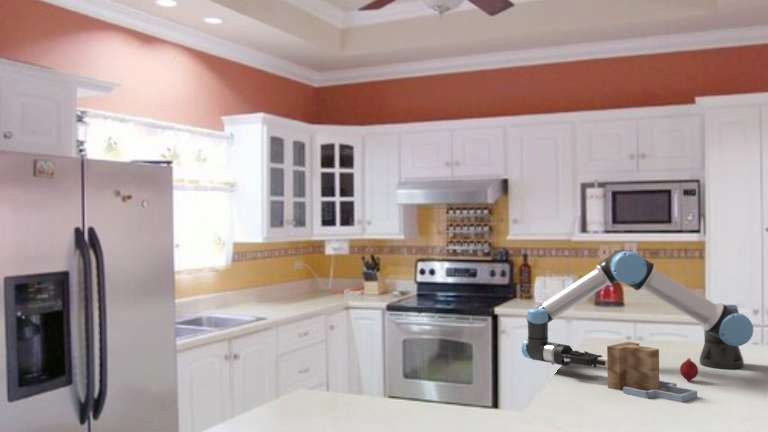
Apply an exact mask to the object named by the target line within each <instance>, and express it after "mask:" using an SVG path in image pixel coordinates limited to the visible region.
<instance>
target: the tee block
mask: <svg viewBox="0 0 768 432" xmlns="http://www.w3.org/2000/svg"><path fill="white" fill-rule="evenodd" d="M606 347H607V350H606V351H607V353H606V356H607V357H606V358H607V366H608V368H607V388H608V389H611V390H612V389H613V390H618V391H621V390H622V391H623V387H629V388H634V389H639V390H643V391H650V390H653V389H655V390H660V387H659V380H660V348H655V347H648V346H640V343H638V342H631V341H625V342H621V343H616V344H611V345H607V346H606Z"/></svg>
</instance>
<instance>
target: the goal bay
mask: <svg viewBox="0 0 768 432" xmlns="http://www.w3.org/2000/svg"><path fill="white" fill-rule="evenodd" d="M659 388H664V389H665V391H664V390H660V389H659V390H655V389H653V390H650V391H643V390H639V389H634V388H629V387H623V389H622V391H623V392H622V394H624V395H625V394H626V395H629V396H635V397H638V396H639V398H643V397H644V398H643V399H647V398H648V399H647V400H649V399H651V398H659V399H664V398H665V399H664V400H668V399H669V401H673V400H674V402H678V401H679V402H678V403H684V402H687V401H690V400H692V399H696V398H698V390H696V389H695V390H694V389H691V388H685V387H680V386H678V385H677V383H676V382H670V381H665V380H661V379H659ZM676 393H677V394H676Z"/></svg>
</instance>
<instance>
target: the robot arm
mask: <svg viewBox="0 0 768 432" xmlns="http://www.w3.org/2000/svg"><path fill="white" fill-rule="evenodd" d="M618 282H620V283H622V284H624V285H627V286H628V287H630V288H631V289H633V290H635V291H636V292H639V291H645V292H646V293H649V294H650V295H652V296H653V297H655V298H657V299H659V300H660V301H663V303H665V304H668V305H669V306H671V307H672V308H674V309H675V310H677V311H680V312H681V313H683V314H685V315H686V316H688V317H689V318H691V319H693V320H695V321H696V322H698V323H699V324H702V328H703V331H704V332H703V333H704V338H703V339H704V344H703V347H702V350H701V352H700V356H699V365H702V366H704V367H708V368H713V369H714V368H716V369H722V370H723V369H724V370H726V369H728V370H729V369H741V368H743V367H744V366H745V365H744V364H745V363H744V362H745V361H744V357H743V355H742V352H741V350H740V347H741V346H743V345H745V344H747V343H748V342H750V340H751V339H752V337H753V334H754V325H753V323H752V321H751V319H750V318H749V317H747V315H745V314H743V313H740V312H739V309H738V308H739V307H738V305H736V304H723V302H719V303H714V302H712V301H711V300H709V299H707V298H705V297H704V296H702V295H700V294H698V293H697V292H694V291H693V290H691V289H689V288H688V287H686V286H685V285H683V284H681V283H679V282H678V281H675V280H674V279H672V278H671V277H669V276H667V275H665V274H663V272H660V271H658V270H657V269H656V266H655V264H654V263H652V262H651V261H649V260H648V259H646V258H644V257H643V256H641V254H639V253H638V252H635V251H632V250H628V249H618V250H615V251H614V252H612V253H611V254H610V255H608V256H607V257H606V258H605V259H603V260H602V261H600V262H599V263H598V264H596V265H595V268H594V269H593V270H592V271H590V272H588V273H587V274H586V275H584V276H583V277H581V278H579V279H578V280H576V281H575V282H573V283H571V284H570V285H568V286H567V287H566V288H564V289H563V290H560V291H559V292H558V293H557V294H555V295H554V296H552V297H550V298H549V299H548V300H546V301H543V302H542V304H540V305H538V306H537V307H533V308H529V309H527V314H526V323H527V338H526V339H524V340H523V341H522V344H521V350H520V351H521V353H522V355H523V357H524V358H526V359H530V360H532V361H539V362H546V363H549V364H551V366H554V365H559V366H563V367H568V366H569V365H570V364H573V365H581V366H588V367H593V368H594V369H595V368H598V367H604V368H607V369H608V366H607V357H603V355H601V354H595V353H592V352H588V351H585V350H584V351H583V352H581V351H579V350H573V348H572V346H570V345H569V344H568V345H567V344H561V343H559V342H558V343H557V342H553V341H552V342H551V341H549V323H550V322H552V321H554V320H555V319H557V318H558V317H559V316H561V315H563V314H564V313H566V312H567V311H569V310H570V309H572V308H573V307H575V306H577V305H578V304H580V303H581V302H583V301H584V300H587V299H588V298H589V297H590V296H592V295H594V294H596V293H597V292H599V291H600V290H602V289H603V288H604V287H606V286H613V285H614V284H616V283H618ZM597 366H598V367H597Z"/></svg>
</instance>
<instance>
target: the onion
mask: <svg viewBox="0 0 768 432" xmlns="http://www.w3.org/2000/svg"><path fill="white" fill-rule="evenodd" d="M679 372H680V374H681V376H682V378H684V379H685V380H686V381H688V382H690V381H692V380H693V379H695V378H696V377H697V376H698V373H699V368H698V365H697V364H696V363H695V362H694V361H692V360H691V358H690V357H687V359H686V360H685V361H684V362H683V363H681V365H680V368H679Z"/></svg>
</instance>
